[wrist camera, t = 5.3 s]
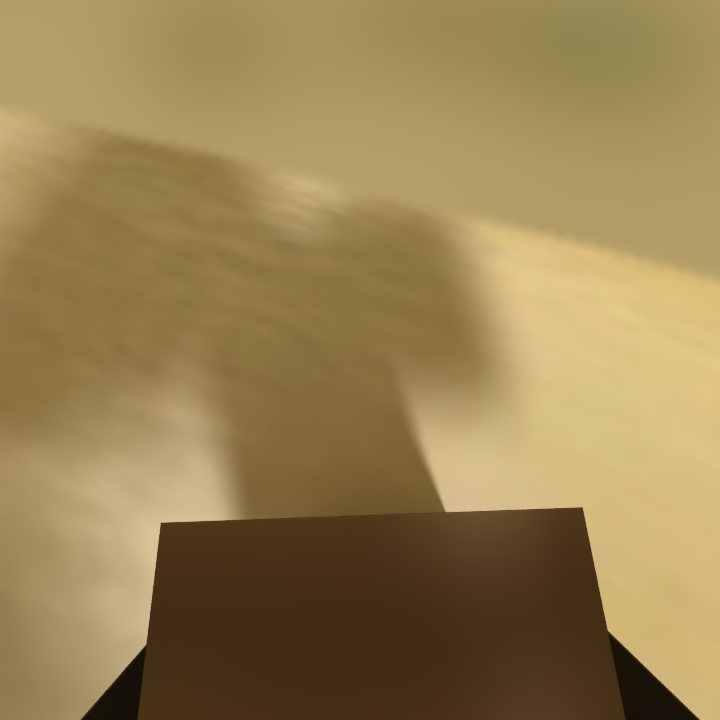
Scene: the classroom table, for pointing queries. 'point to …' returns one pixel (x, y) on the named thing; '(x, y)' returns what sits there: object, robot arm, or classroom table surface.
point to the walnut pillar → (379, 619)
